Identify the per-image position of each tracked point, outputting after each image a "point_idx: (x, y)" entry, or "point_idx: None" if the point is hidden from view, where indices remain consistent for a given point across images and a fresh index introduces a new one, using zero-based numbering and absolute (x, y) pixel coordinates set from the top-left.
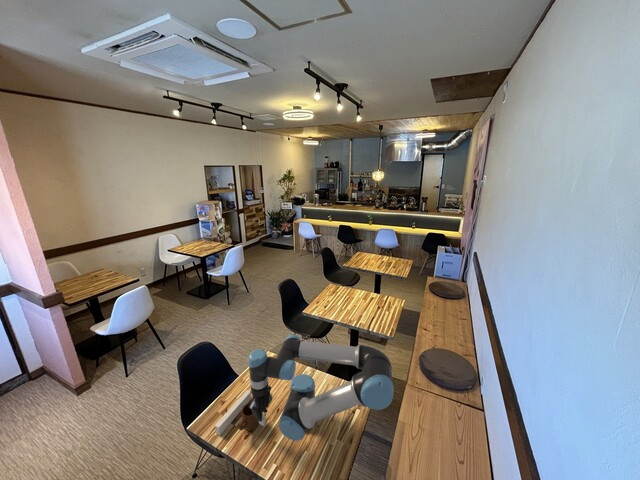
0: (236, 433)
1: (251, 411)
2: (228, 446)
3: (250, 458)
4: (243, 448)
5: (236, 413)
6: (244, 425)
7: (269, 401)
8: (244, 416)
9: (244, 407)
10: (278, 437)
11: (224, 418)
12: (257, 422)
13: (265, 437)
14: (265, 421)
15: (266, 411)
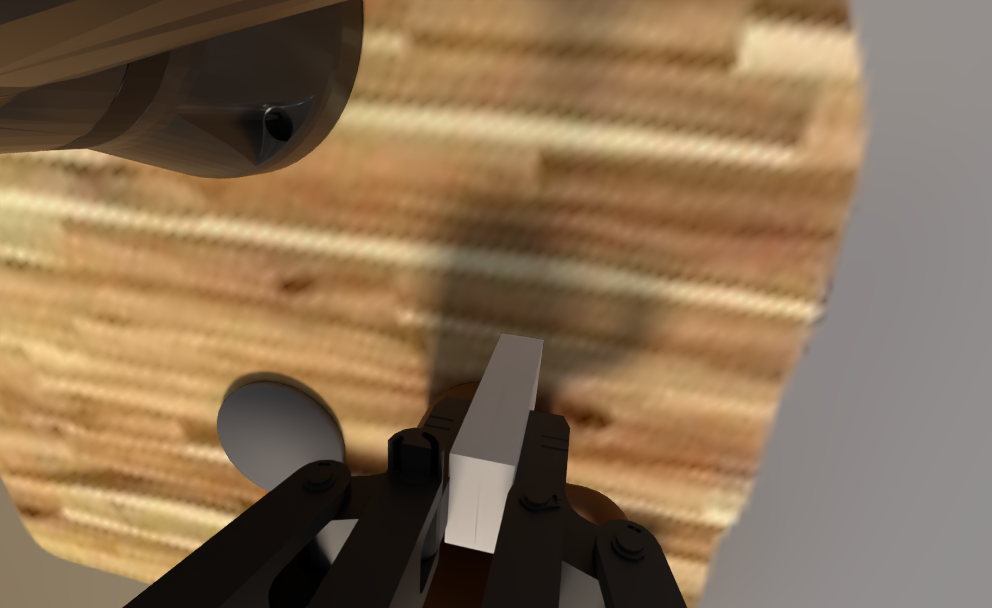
0: None
1: None
2: (698, 500)
3: (746, 305)
4: (682, 396)
5: None
6: (571, 506)
7: (274, 385)
8: None
9: (441, 604)
10: (497, 156)
11: None
12: (471, 399)
13: (540, 272)
14: (496, 350)
15: (422, 449)
